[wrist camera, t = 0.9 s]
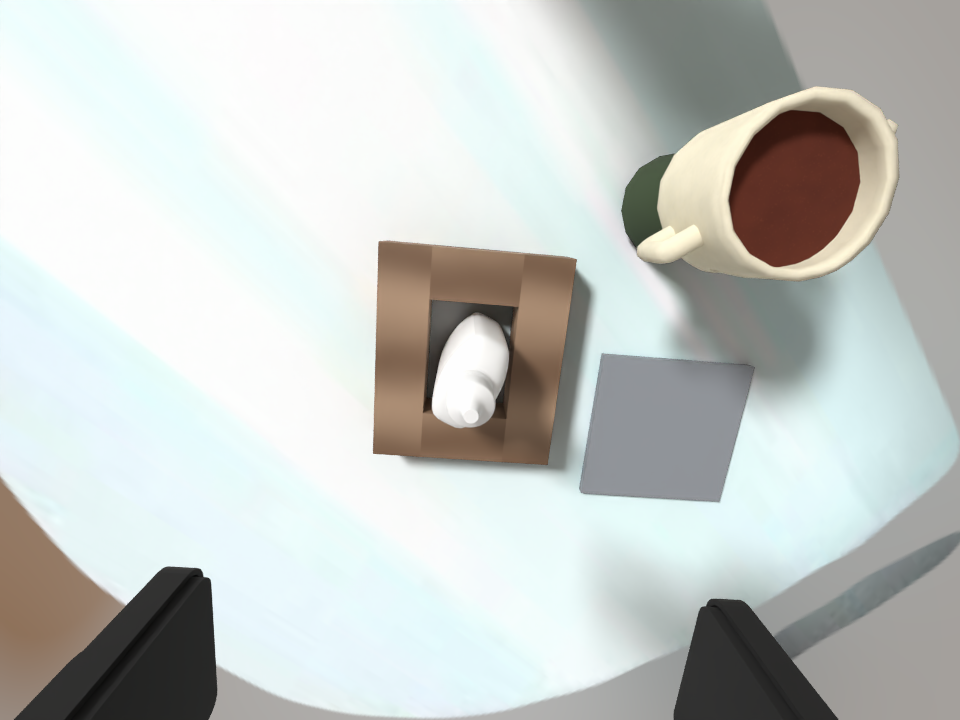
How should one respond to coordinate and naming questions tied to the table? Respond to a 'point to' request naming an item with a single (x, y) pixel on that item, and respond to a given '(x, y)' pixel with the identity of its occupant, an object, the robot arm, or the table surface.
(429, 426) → the walnut dock
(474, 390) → the eye dropper bottle
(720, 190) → the character mug
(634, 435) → the slate mat
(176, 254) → the table surface
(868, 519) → the table surface
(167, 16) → the table surface
